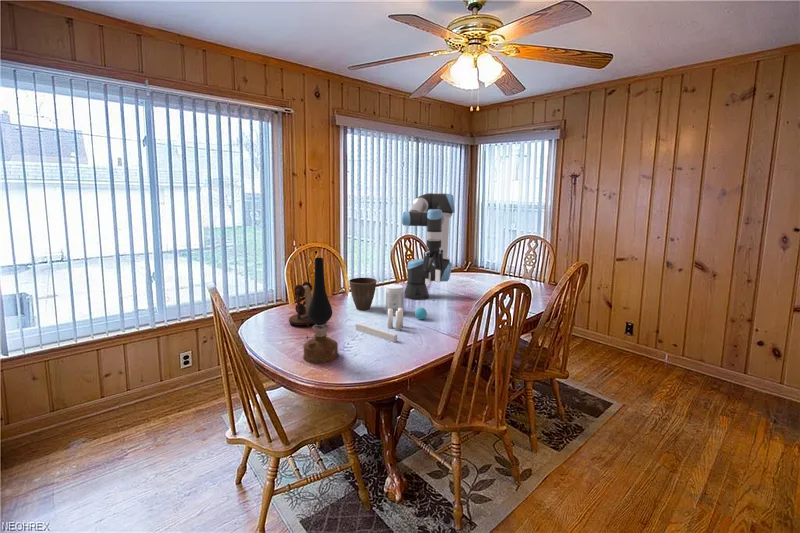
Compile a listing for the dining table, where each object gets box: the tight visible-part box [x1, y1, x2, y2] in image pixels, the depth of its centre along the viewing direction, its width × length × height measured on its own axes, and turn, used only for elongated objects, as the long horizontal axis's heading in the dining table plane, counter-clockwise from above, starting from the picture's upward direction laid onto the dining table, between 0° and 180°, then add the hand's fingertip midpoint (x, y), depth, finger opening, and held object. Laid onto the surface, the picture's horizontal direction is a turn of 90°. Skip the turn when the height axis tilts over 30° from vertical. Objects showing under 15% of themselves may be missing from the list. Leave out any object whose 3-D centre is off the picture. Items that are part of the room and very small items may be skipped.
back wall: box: [355, 322, 398, 343], centre depth 188 cm, size 2×24×3 cm, turn 49°
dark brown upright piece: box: [288, 281, 314, 328], centre depth 203 cm, size 15×15×20 cm
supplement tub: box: [385, 284, 405, 316], centre depth 222 cm, size 10×10×15 cm
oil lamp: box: [302, 257, 339, 364], centre depth 163 cm, size 14×15×40 cm
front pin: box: [398, 308, 404, 328], centre depth 200 cm, size 2×2×9 cm
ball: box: [414, 307, 428, 320], centre depth 213 cm, size 6×6×6 cm
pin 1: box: [387, 309, 394, 329], centre depth 199 cm, size 2×2×9 cm
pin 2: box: [395, 311, 402, 331], centre depth 196 cm, size 2×2×9 cm
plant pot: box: [348, 277, 377, 311], centre depth 229 cm, size 15×15×16 cm
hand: (432, 283), depth 217 cm, fingers open, 8 cm apart
